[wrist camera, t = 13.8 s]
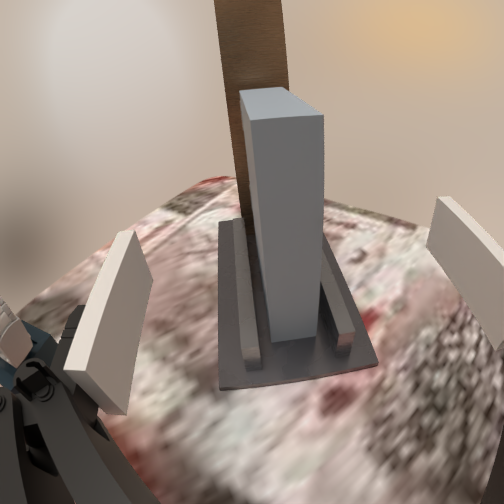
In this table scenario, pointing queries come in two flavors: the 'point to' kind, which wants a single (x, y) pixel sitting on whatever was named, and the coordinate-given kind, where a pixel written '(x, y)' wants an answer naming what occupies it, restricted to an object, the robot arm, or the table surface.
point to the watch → (20, 345)
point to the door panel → (286, 205)
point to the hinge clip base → (244, 240)
